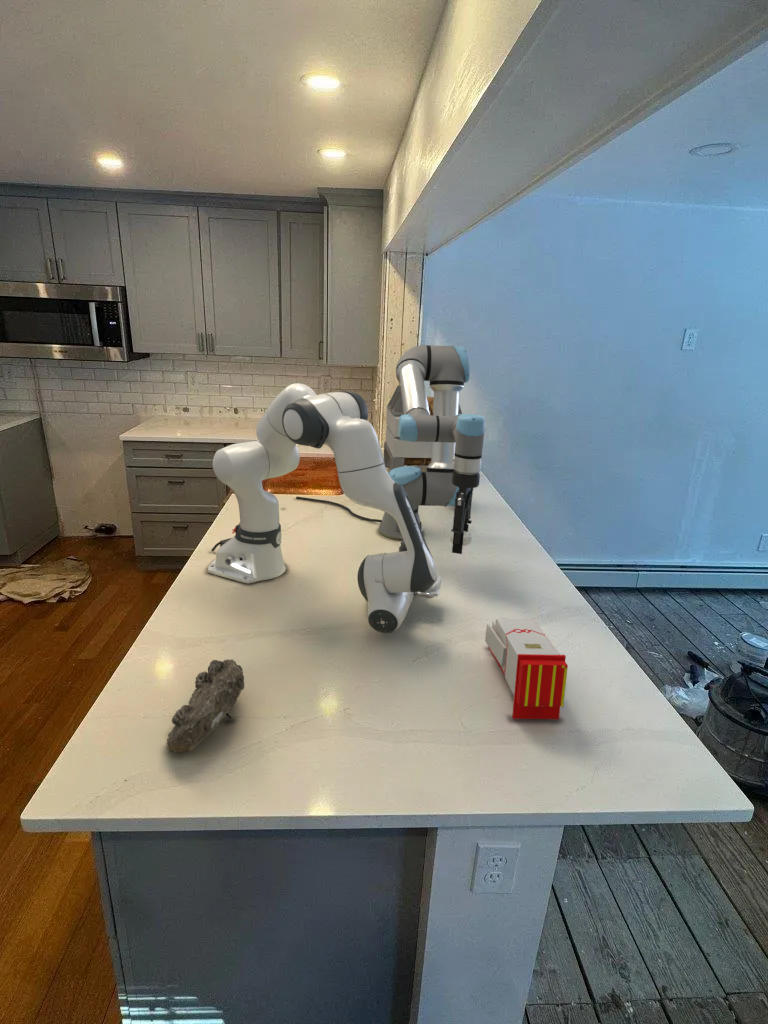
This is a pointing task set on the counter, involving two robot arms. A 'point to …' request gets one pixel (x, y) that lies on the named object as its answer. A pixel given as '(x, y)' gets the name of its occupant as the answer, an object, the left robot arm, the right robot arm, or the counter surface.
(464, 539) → the lid
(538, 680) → the toy
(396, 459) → the grey slatted crate
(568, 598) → the counter surface
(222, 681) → the fossil
